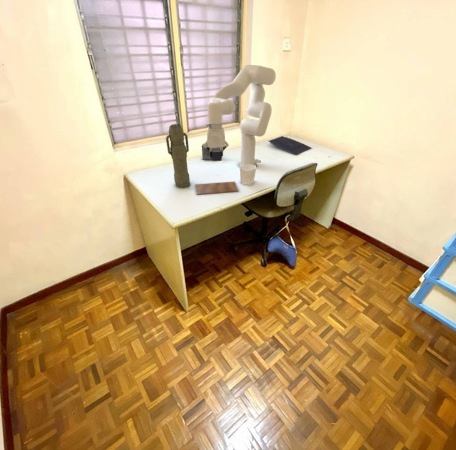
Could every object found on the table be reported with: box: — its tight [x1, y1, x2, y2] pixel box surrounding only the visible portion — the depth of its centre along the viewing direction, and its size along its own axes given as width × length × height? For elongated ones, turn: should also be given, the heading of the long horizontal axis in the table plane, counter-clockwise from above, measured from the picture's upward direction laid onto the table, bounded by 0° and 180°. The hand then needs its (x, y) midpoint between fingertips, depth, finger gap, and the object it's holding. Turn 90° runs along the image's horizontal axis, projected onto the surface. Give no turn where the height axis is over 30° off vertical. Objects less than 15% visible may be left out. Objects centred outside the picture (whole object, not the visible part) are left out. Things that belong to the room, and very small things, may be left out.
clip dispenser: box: [212, 147, 223, 162], centre depth 147 cm, size 5×8×6 cm, turn 10°
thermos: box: [165, 123, 191, 189], centre depth 143 cm, size 9×12×35 cm
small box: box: [201, 143, 213, 161], centre depth 185 cm, size 11×6×10 cm, turn 84°
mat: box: [195, 181, 239, 196], centre depth 150 cm, size 24×12×1 cm, turn 101°
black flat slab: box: [268, 135, 312, 156], centre depth 210 cm, size 24×30×4 cm
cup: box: [239, 164, 257, 186], centre depth 154 cm, size 10×10×10 cm
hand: (216, 157), depth 149 cm, fingers closed on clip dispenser, 5 cm apart
